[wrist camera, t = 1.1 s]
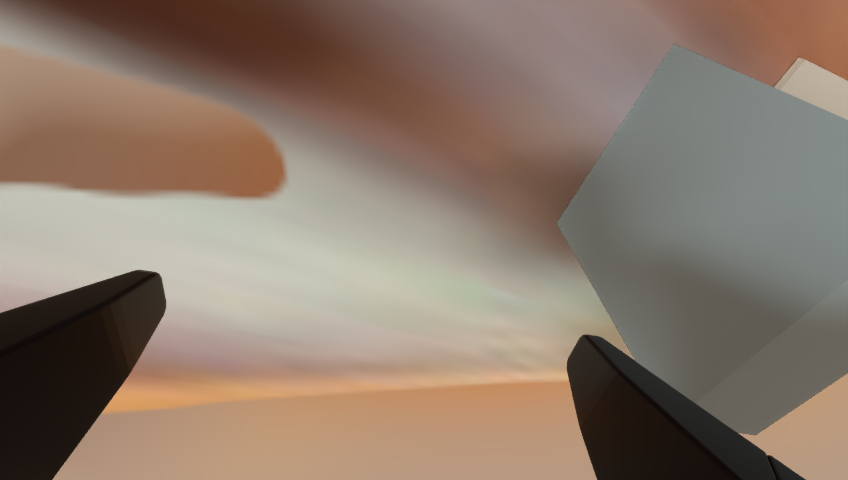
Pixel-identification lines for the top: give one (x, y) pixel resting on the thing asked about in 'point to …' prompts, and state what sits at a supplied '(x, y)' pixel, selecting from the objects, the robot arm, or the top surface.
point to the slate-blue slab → (722, 240)
